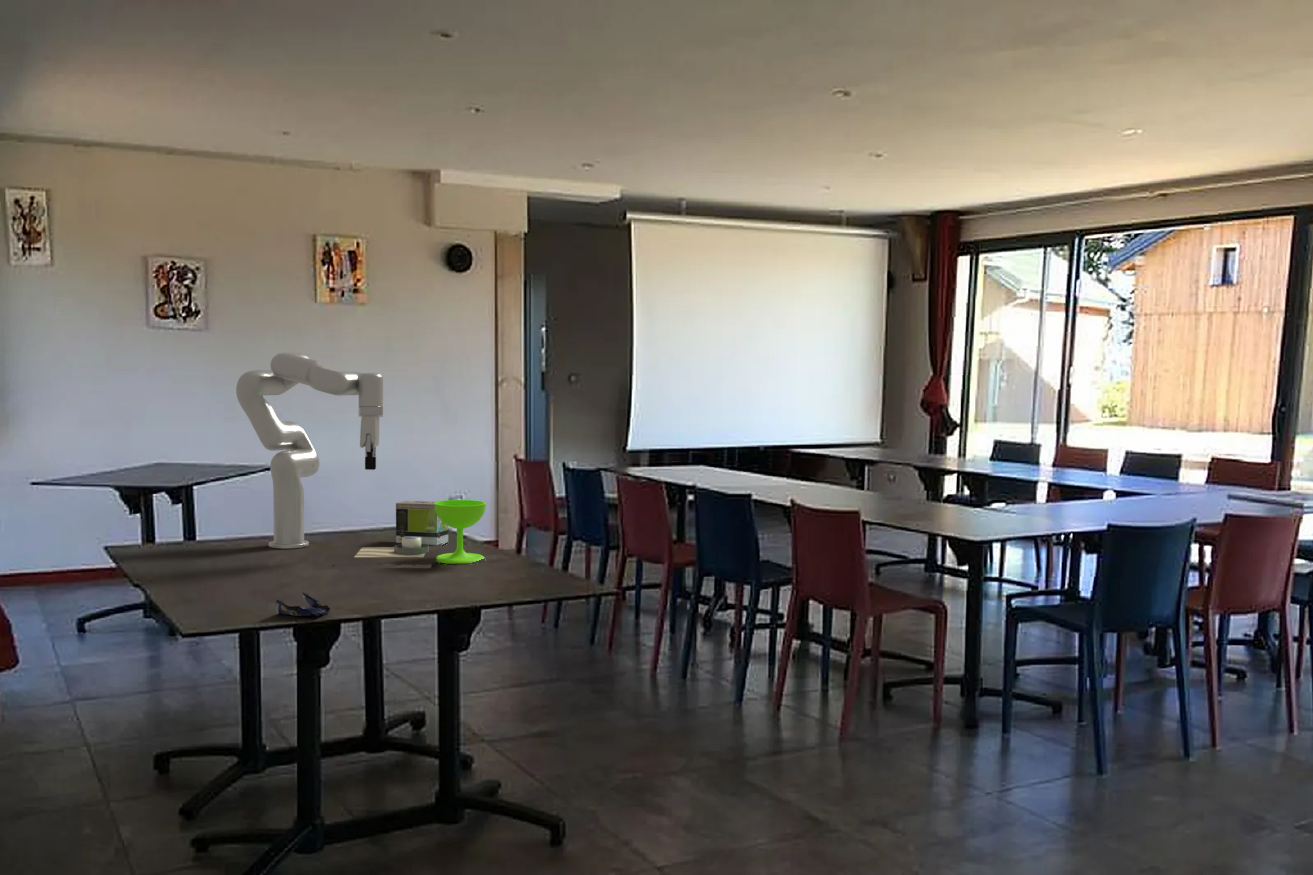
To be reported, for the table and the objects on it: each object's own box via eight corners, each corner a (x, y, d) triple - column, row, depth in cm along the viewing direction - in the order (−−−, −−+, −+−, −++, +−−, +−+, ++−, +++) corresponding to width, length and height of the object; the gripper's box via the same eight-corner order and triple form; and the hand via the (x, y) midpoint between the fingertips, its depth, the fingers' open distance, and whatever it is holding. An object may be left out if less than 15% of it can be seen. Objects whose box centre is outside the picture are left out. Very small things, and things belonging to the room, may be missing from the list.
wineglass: (473, 554, 351) (474, 498, 350) (493, 562, 337) (494, 504, 336) (426, 558, 342) (426, 501, 341) (444, 566, 329) (445, 507, 328)
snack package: (303, 609, 271) (266, 616, 260) (307, 584, 270) (270, 591, 260) (338, 623, 265) (301, 631, 255) (342, 598, 264) (305, 605, 254)
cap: (402, 550, 348) (402, 536, 348) (421, 550, 349) (422, 536, 349) (400, 553, 343) (400, 538, 342) (420, 553, 343) (420, 539, 343)
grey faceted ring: (396, 549, 350) (396, 543, 350) (429, 549, 352) (429, 543, 351) (392, 554, 340) (392, 548, 340) (427, 554, 341) (427, 548, 341)
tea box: (449, 544, 370) (449, 500, 369) (436, 548, 360) (436, 504, 359) (408, 541, 373) (408, 498, 372) (394, 546, 364) (395, 502, 363)
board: (362, 551, 353) (362, 547, 353) (428, 551, 355) (428, 547, 355) (353, 561, 335) (353, 557, 335) (423, 560, 337) (423, 557, 337)
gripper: (362, 410, 353) (361, 467, 354) (355, 412, 338) (354, 471, 339) (385, 411, 354) (385, 467, 355) (379, 413, 339) (379, 471, 340)
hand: (370, 469), depth 347 cm, fingers closed
